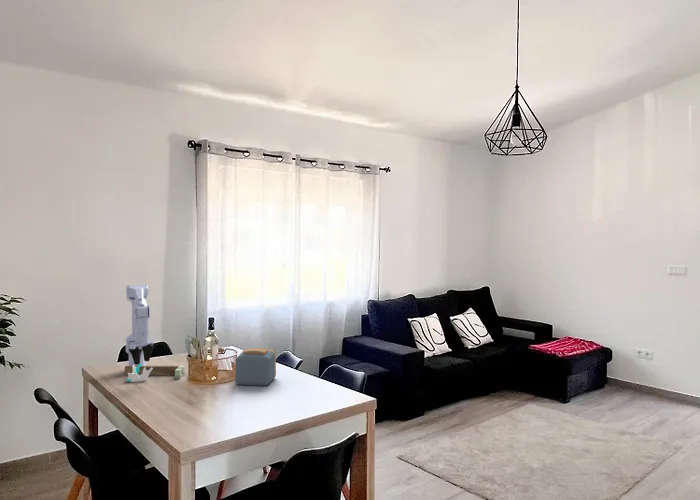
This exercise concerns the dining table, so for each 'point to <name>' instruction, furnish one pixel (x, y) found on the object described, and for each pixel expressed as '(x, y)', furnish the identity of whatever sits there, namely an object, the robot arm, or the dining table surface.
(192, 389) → the dining table surface
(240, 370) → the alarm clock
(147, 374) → the jawbone
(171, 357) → the dining table surface
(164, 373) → the cleat board
